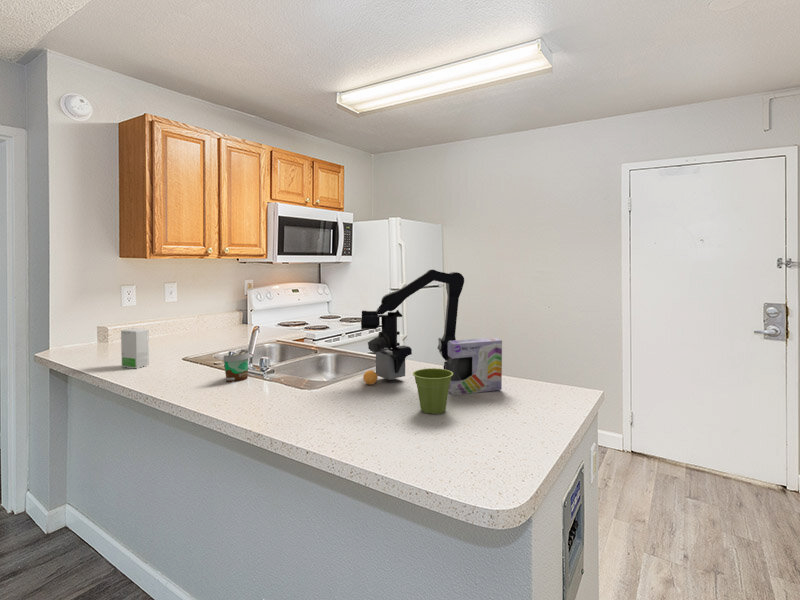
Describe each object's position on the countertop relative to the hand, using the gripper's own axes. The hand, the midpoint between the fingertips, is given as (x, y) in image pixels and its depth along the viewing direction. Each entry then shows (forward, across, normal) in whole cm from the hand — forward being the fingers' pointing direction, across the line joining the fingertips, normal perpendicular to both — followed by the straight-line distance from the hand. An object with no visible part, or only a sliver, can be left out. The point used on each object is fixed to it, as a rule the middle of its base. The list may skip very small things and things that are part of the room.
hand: (389, 371), depth 164 cm
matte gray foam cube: (+2, 0, 0) cm, 2 cm away
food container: (+4, -37, -41) cm, 55 cm away
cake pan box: (+4, +29, +13) cm, 32 cm away
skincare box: (+4, -85, -67) cm, 108 cm away
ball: (+1, 0, -8) cm, 9 cm away
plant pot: (+4, +34, -11) cm, 36 cm away
